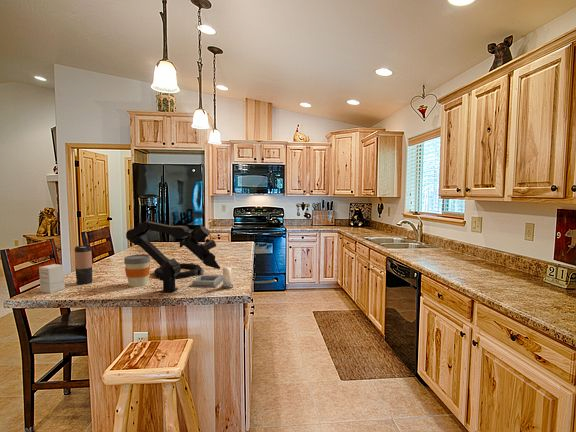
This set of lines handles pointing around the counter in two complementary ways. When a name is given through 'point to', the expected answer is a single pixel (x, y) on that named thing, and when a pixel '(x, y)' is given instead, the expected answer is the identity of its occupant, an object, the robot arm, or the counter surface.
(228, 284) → the light bulb lamp
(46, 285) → the supplement box
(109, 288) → the counter surface
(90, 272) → the travel mug
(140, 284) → the reusable coffee cup
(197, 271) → the cable lock
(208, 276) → the holder dock
